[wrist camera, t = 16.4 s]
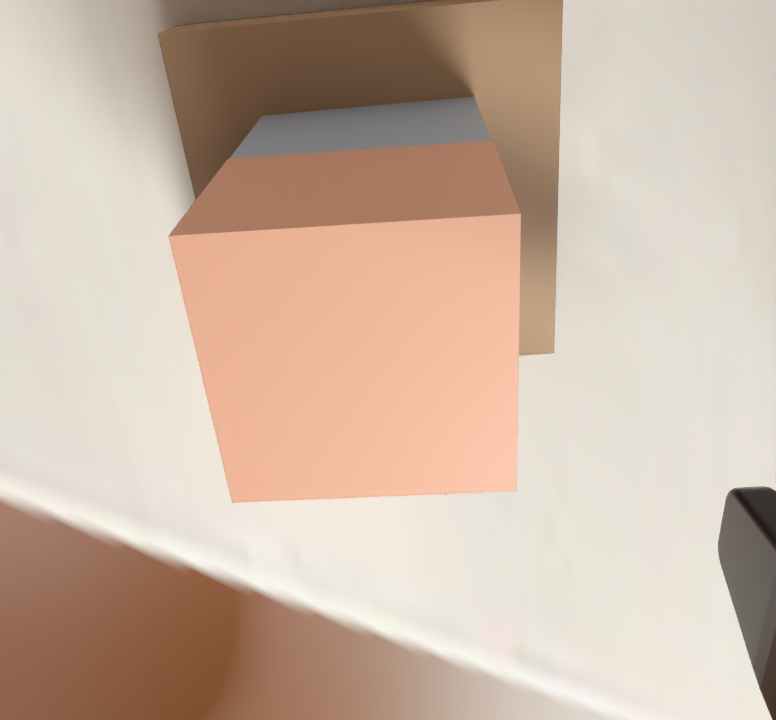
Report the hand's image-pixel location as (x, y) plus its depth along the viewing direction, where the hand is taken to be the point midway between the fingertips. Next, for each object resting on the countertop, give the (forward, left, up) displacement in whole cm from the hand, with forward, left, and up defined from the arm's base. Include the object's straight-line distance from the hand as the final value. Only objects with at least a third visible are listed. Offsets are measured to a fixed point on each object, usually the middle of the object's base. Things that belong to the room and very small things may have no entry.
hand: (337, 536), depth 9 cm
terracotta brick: (0, 0, -8) cm, 8 cm away
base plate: (0, 0, -13) cm, 13 cm away
